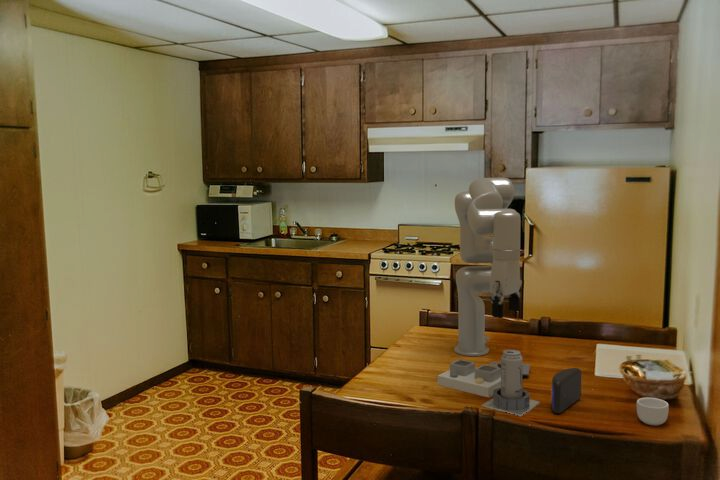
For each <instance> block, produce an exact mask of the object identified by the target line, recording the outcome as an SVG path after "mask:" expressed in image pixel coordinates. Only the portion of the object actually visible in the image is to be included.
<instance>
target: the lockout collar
mask: <svg viewBox="0 0 720 480" xmlns="http://www.w3.org/2000/svg"><path fill="white" fill-rule="evenodd" d="M492 397H493V398H490V399H489V400H487V401H486V402H484V403H482V404H481V407H484V408H487V409H491V410H494V409H495V410H494V411H498V412H502V413H505V412H507V413H506V414H509V413H510V415H513V414H515V415H514V416H517V415H518V417H522V416H524V415H526V414H527V413H528V412H530V411H532V409H534V408H535V407H536V408H537V406H539V405H541V401H538V400H536V399H535V400H534V399H530V392H529V391H528V390H526V389H524V388H522V398H506V397H502V396H501V388H497V389H495V390H494V391H493V395H492ZM526 412H527V413H526ZM523 414H524V415H523Z"/></svg>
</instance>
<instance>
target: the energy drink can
mask: <svg viewBox="0 0 720 480" xmlns="http://www.w3.org/2000/svg"><path fill="white" fill-rule="evenodd" d="M523 359H524V358H523V356H522V355H521V351H520V350H517V349H505V350H503V352H502V354H501V356H500V362H501V396H502V397H506V398H522V389H523V377H524V376H523V364H524V362H523V361H524V360H523Z"/></svg>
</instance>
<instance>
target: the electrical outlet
mask: <svg viewBox="0 0 720 480" xmlns="http://www.w3.org/2000/svg"><path fill="white" fill-rule="evenodd" d="M488 365H494V366H498V368H501V361H490V362H489V364H488ZM530 367H531V364H530V363H523V377H528V376H529V375H530V369H531V368H530Z"/></svg>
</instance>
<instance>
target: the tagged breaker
mask: <svg viewBox="0 0 720 480" xmlns="http://www.w3.org/2000/svg"><path fill="white" fill-rule="evenodd" d="M495 369H496V368H491V367H487V366H484V367H482V368H480V369H479V370H484V371H488V372H492V371H493V370H495Z"/></svg>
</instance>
